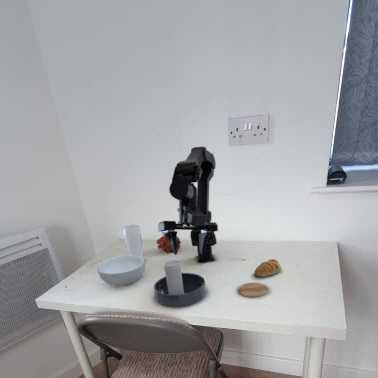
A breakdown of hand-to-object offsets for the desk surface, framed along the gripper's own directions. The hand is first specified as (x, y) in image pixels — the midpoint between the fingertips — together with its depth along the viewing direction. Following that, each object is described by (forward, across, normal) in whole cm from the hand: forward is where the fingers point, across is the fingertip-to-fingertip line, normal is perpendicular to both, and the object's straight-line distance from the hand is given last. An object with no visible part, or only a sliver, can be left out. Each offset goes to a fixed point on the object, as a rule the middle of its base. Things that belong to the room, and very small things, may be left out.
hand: (188, 254), depth 105 cm
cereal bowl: (+10, -16, +22) cm, 29 cm away
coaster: (+12, +16, -12) cm, 24 cm away
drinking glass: (+3, -6, +36) cm, 36 cm away
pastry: (+7, +28, -5) cm, 29 cm away
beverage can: (+14, -6, -2) cm, 15 cm away
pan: (+13, -3, 0) cm, 13 cm away
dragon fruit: (-2, +9, +38) cm, 39 cm away
